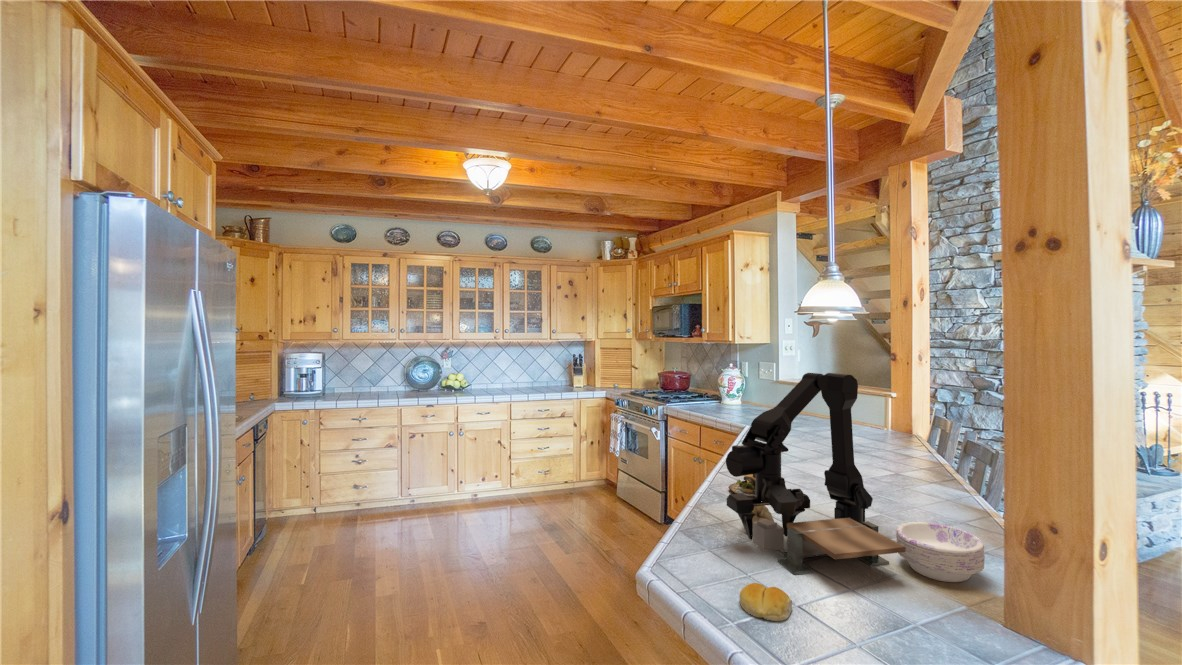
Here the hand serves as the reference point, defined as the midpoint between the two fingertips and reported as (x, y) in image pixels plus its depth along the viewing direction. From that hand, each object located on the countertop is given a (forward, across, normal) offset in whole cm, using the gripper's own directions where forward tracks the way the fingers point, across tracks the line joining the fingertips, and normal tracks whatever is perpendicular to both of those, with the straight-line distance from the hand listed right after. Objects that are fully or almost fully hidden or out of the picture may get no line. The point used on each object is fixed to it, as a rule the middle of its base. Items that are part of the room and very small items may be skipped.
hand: (768, 537), depth 119 cm
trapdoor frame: (+2, +9, -10) cm, 13 cm away
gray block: (+2, 0, 0) cm, 2 cm away
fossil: (+2, +3, +9) cm, 10 cm away
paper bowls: (+2, +28, -19) cm, 34 cm away
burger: (+2, +15, +36) cm, 39 cm away
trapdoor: (0, +9, -14) cm, 17 cm away
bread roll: (+2, -15, -24) cm, 28 cm away
